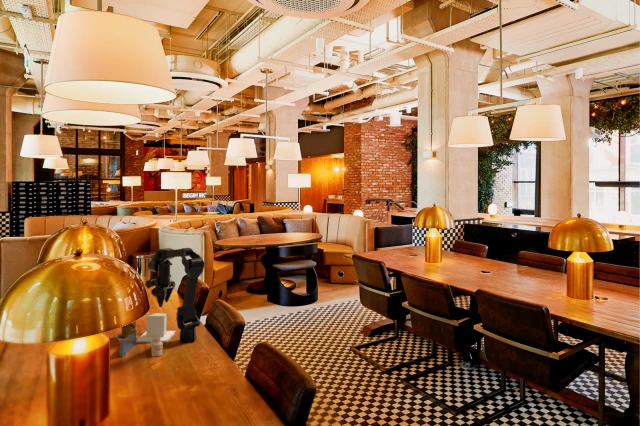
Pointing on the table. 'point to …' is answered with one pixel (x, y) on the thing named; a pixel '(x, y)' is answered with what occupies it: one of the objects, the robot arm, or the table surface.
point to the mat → (163, 339)
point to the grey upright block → (156, 325)
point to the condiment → (127, 330)
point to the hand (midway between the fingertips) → (163, 304)
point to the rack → (127, 343)
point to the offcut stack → (156, 347)
